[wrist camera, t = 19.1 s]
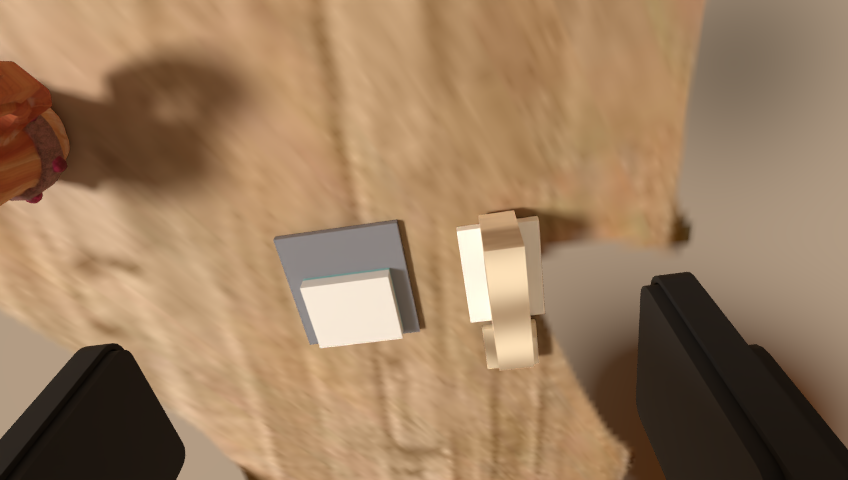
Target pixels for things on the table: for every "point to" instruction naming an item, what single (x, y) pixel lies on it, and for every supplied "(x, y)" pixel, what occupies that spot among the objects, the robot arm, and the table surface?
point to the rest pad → (477, 276)
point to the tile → (353, 307)
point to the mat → (347, 263)
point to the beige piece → (507, 295)
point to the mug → (28, 137)
